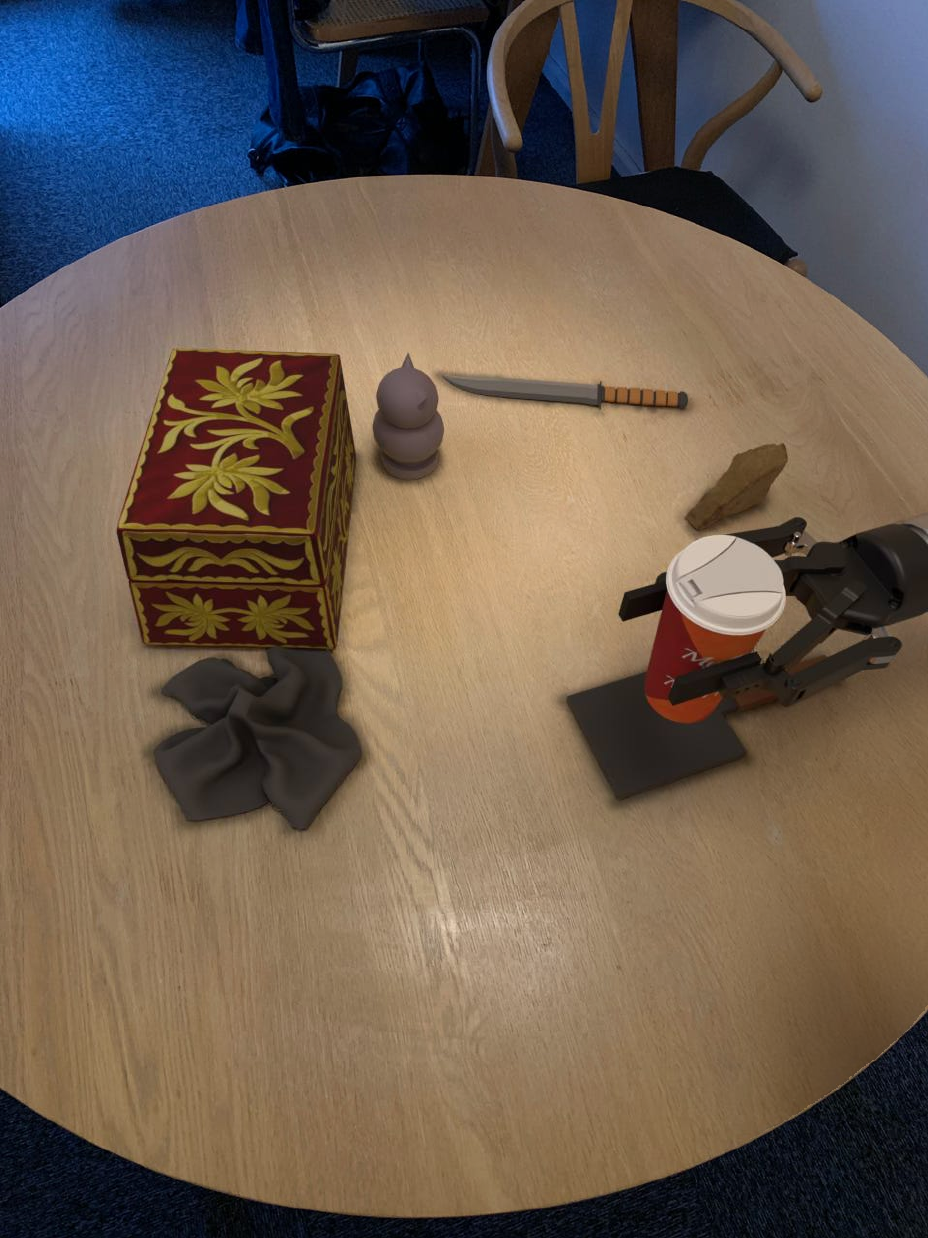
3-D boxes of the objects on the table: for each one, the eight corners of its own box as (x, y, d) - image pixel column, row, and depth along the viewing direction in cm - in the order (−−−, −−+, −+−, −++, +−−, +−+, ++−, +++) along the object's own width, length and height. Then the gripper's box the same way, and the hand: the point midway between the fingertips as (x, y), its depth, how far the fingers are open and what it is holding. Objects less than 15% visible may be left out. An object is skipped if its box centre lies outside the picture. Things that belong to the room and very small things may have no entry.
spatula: (860, 716, 88) (865, 709, 88) (617, 801, 82) (620, 794, 81) (796, 628, 94) (800, 620, 94) (565, 700, 88) (567, 693, 87)
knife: (438, 392, 113) (442, 365, 116) (438, 400, 114) (442, 372, 117) (689, 411, 112) (688, 383, 114) (687, 419, 113) (685, 391, 116)
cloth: (362, 829, 80) (358, 797, 75) (139, 839, 78) (120, 807, 73) (361, 620, 93) (358, 581, 88) (171, 625, 91) (157, 586, 87)
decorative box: (337, 650, 90) (325, 545, 78) (142, 646, 89) (100, 539, 77) (357, 455, 107) (349, 345, 95) (193, 450, 106) (165, 338, 94)
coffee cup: (663, 750, 72) (713, 638, 60) (611, 668, 76) (648, 548, 64) (753, 714, 74) (818, 599, 62) (697, 637, 79) (748, 515, 67)
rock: (699, 538, 98) (793, 523, 98) (693, 457, 96) (789, 442, 96) (673, 519, 109) (758, 506, 108) (667, 445, 106) (754, 432, 106)
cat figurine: (365, 441, 108) (360, 355, 99) (430, 428, 110) (432, 343, 100) (385, 492, 103) (382, 407, 94) (452, 478, 105) (456, 394, 96)
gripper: (968, 697, 71) (704, 790, 65) (818, 512, 81) (581, 578, 76) (1019, 639, 64) (733, 737, 59) (850, 448, 75) (595, 515, 70)
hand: (648, 648), depth 67 cm, fingers closed on coffee cup, 7 cm apart
